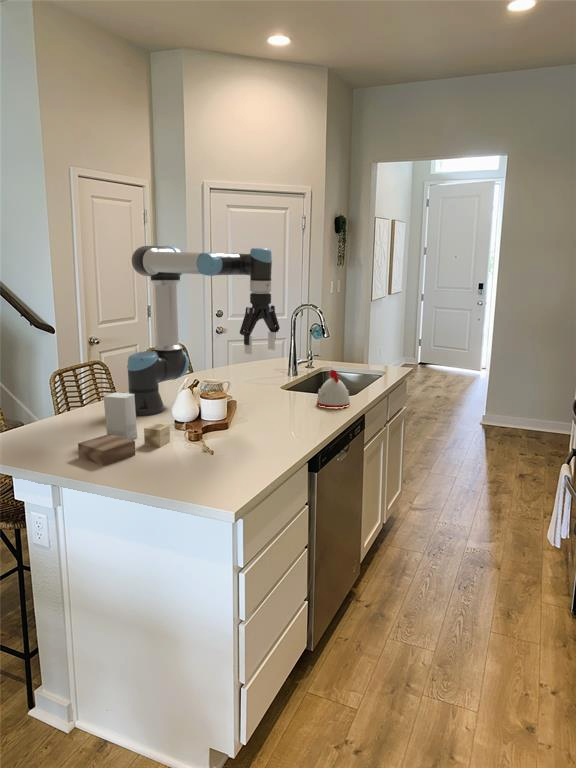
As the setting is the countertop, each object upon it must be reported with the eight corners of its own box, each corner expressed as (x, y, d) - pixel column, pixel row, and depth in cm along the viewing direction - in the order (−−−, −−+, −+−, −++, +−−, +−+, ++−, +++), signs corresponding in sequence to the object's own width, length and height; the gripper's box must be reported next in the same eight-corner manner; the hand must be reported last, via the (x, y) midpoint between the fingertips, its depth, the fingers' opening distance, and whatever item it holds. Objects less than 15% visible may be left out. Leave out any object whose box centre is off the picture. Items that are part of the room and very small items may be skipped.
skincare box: (137, 437, 201) (136, 393, 197) (126, 443, 195) (124, 398, 191) (117, 435, 203) (114, 391, 200) (105, 440, 197) (103, 395, 194)
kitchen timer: (341, 400, 259) (342, 366, 256) (354, 407, 246) (356, 372, 243) (312, 402, 255) (313, 368, 251) (324, 410, 242) (325, 374, 239)
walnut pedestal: (78, 458, 181) (77, 443, 180) (110, 448, 190) (109, 434, 189) (104, 467, 174) (103, 451, 173) (135, 456, 184) (134, 441, 183)
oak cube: (144, 445, 193) (143, 428, 192) (154, 440, 199) (153, 423, 198) (160, 447, 191) (159, 430, 190) (169, 442, 197) (169, 425, 196)
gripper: (246, 294, 196) (246, 357, 201) (289, 291, 216) (288, 348, 221) (229, 293, 200) (229, 354, 205) (273, 290, 220) (272, 346, 225)
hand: (260, 351), depth 213 cm, fingers open, 13 cm apart
